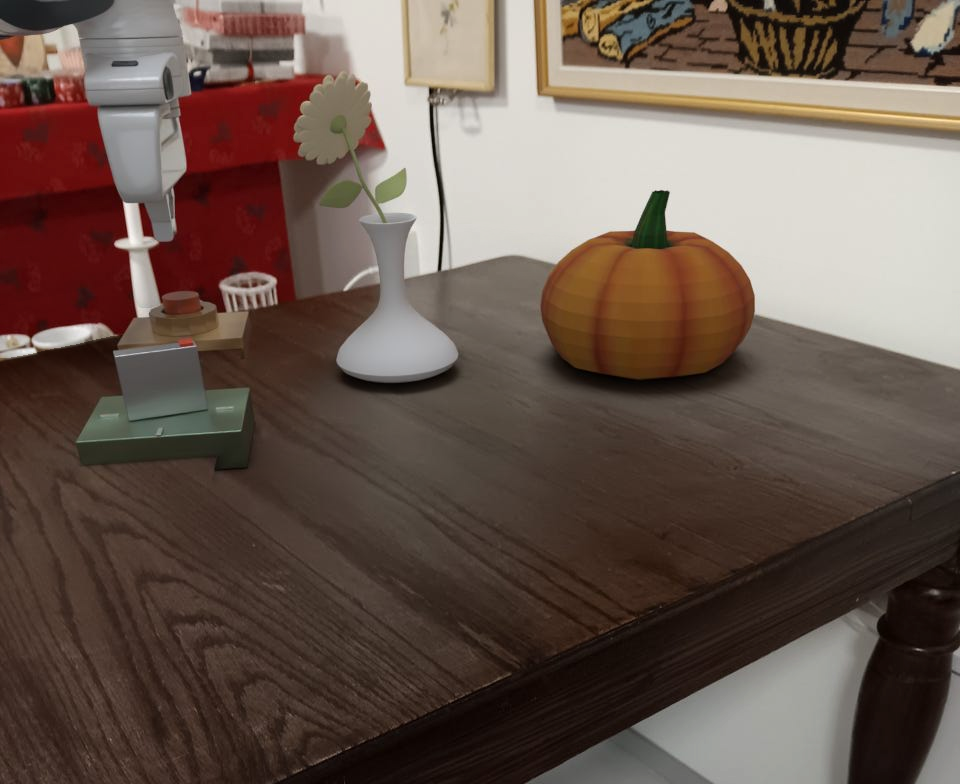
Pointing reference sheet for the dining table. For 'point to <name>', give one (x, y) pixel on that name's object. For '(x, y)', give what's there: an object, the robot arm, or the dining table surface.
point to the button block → (190, 329)
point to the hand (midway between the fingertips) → (166, 238)
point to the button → (181, 303)
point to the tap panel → (172, 432)
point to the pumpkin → (647, 301)
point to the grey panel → (161, 379)
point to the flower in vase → (394, 324)
